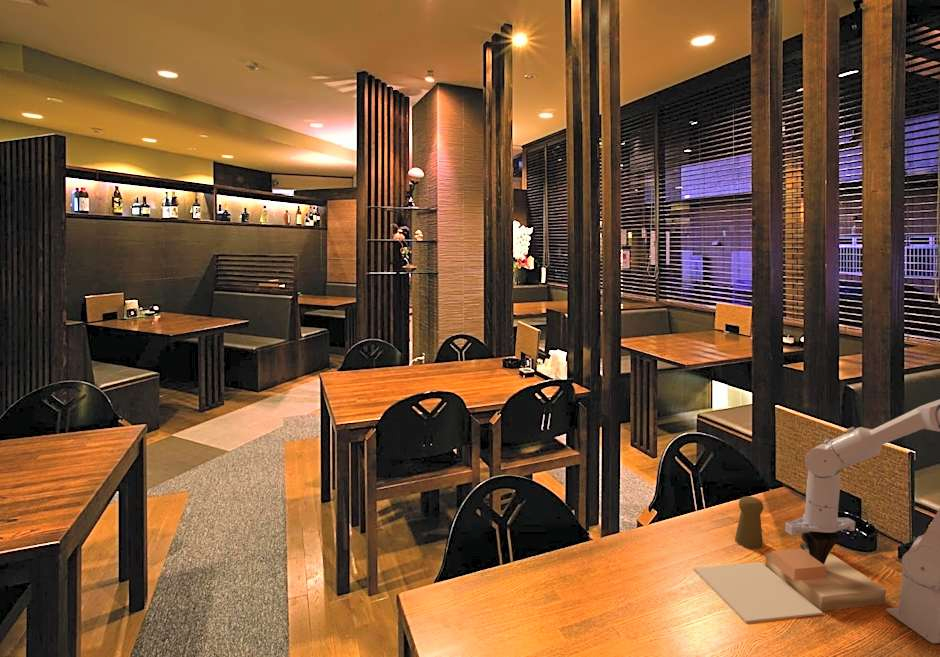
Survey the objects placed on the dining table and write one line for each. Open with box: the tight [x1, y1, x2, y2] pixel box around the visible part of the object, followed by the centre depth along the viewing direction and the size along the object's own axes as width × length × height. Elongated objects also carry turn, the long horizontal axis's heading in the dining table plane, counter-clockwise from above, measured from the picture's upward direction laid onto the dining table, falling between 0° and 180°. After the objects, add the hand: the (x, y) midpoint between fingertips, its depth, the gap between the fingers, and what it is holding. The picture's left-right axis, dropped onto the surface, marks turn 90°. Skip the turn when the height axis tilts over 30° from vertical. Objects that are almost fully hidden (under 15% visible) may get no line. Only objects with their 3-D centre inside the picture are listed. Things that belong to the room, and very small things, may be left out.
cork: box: [734, 496, 764, 550], centre depth 132 cm, size 6×6×11 cm
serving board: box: [764, 549, 887, 612], centre depth 115 cm, size 16×14×3 cm
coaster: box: [770, 548, 826, 581], centre depth 115 cm, size 7×7×2 cm
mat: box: [693, 561, 824, 624], centre depth 113 cm, size 18×16×1 cm
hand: (817, 563), depth 116 cm, fingers closed
